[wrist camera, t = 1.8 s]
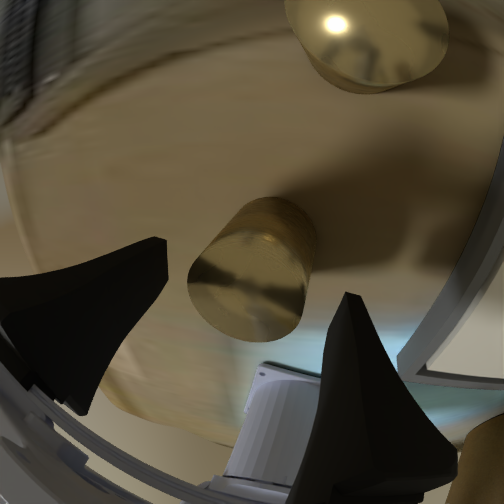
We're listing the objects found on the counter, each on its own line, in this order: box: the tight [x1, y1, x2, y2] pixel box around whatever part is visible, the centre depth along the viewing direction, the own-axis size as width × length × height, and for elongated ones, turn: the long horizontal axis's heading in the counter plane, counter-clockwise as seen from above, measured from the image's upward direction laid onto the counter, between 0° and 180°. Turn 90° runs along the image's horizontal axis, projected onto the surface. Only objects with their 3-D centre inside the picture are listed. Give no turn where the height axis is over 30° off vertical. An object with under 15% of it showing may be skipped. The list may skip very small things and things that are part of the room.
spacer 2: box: [284, 0, 449, 94], centre depth 6 cm, size 4×4×5 cm
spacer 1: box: [187, 197, 316, 342], centre depth 12 cm, size 4×4×5 cm
